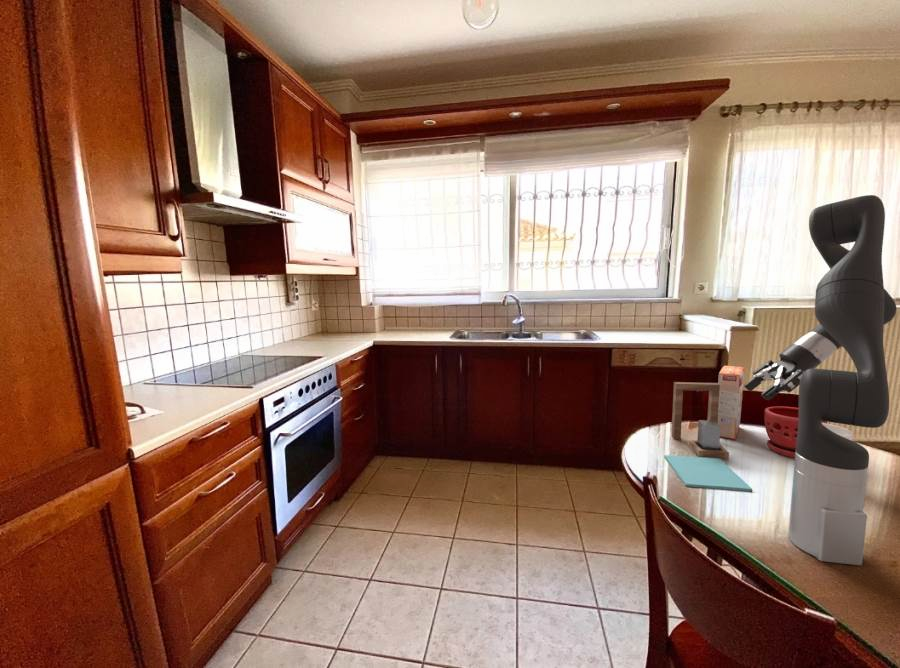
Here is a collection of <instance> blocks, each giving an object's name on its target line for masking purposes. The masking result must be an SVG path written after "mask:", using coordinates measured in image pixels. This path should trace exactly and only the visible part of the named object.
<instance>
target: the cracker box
mask: <svg viewBox="0 0 900 668" xmlns="http://www.w3.org/2000/svg"><path fill="white" fill-rule="evenodd" d="M744 377H745V367H742V366H733V365H723V367H722V368H721V370H720V371H719V373H718V382H717V383H718V384H720V391H719V408H718V424H719V425H720V438H726V439H729V440H735V441H736V439H737V436H738V433H739V430H740V423H741V415H742V414H741V413H742V406H743V405H742V402H743V393H744V391H743V390H744V379H745V378H744Z"/></svg>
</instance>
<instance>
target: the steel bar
mask: <svg viewBox="0 0 900 668" xmlns="http://www.w3.org/2000/svg"><path fill="white" fill-rule="evenodd" d="M697 423H698V425H697V426H698V427H697V440H696V441H697V445H698V446H699V447H700V448H701V449H705V450H719V444H720V442H721V441H720V439H721V437H720V425H719V424H718V423H716V422H715V421H708V420H707V419H706V420H705V419H701V420H700V419H699V420H698V422H697Z"/></svg>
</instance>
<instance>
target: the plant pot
mask: <svg viewBox="0 0 900 668" xmlns="http://www.w3.org/2000/svg"><path fill="white" fill-rule="evenodd" d="M798 421H799V407H791V406H770V407H766V408H765V409H764V427H765V431H766V435H767V436H768V440H767V441H766V443H767V446H768V448H770V450H772V451H774V453H778V454H780V455H783V456H786V457H789V458H794V459H795V453H796V442H797V434H798ZM822 423H826V424H828V422H827V421H822Z"/></svg>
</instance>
